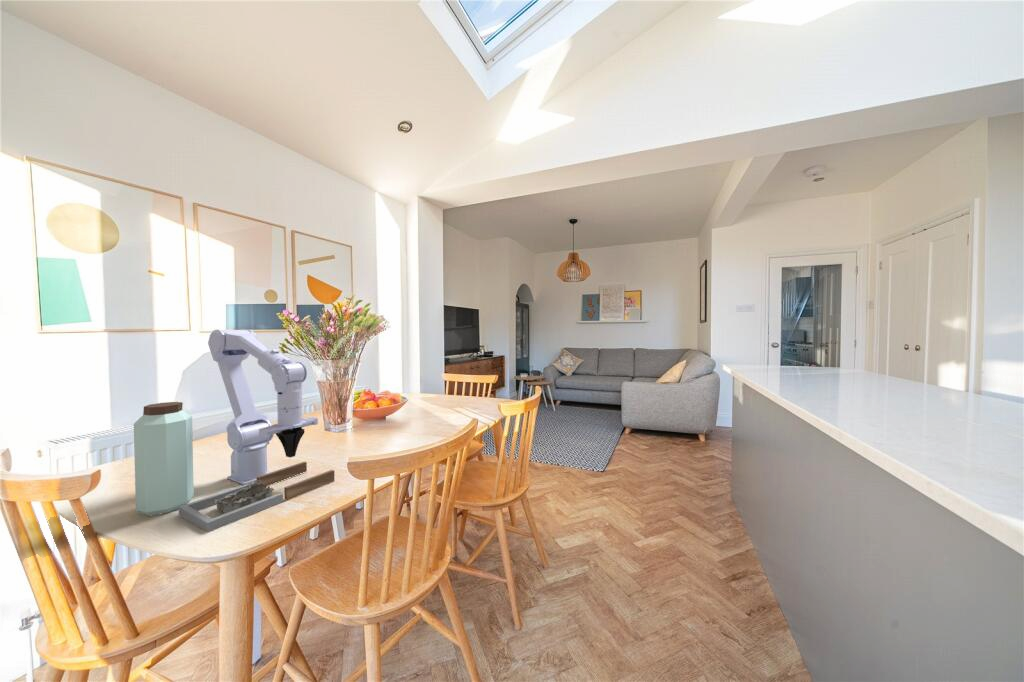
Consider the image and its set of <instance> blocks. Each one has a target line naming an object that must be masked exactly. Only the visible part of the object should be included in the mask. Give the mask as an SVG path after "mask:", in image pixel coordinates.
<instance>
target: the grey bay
mask: <svg viewBox="0 0 1024 682" xmlns="http://www.w3.org/2000/svg"><path fill="white" fill-rule="evenodd" d="M251 483H252V482H251ZM248 484H250V483H248ZM248 484H245V485H243V484H241V485H240V486H238V487H234V488H231V489H228V490H224V491H222V492H220V493H215V494H212V495H210V496H207V497H204V498H200V499H197V500H194V501H192V502H191V501H190V502H188V503H187V504H185V505H182V506H179V509H178V516H179V515H180V517H181V518H183V519H184V518H185V520H186V521H188V522H189V523H191V524H193V525H195V526H197V527H198V528H200V529H202V530H203V531H205V532H207V533H210V532H211V531H214V529H215V530H216V529H219V527H220V528H222V527H224V526H226V525H230V524H231V523H234V522H237V521H240V520H241V519H244V518H246V517H249V516H251V515H253V514H257V513H259V512H261V511H264V510H266V509H268V508H270V507H271V508H272V507H274V506H276V505H278V504H281V503H283V502H284V494H283V493H282V492H279V493H277V494H272V496H271V497H268V498H265V499H263V500H260V501H257V502H255V503H252V504H250V505H247V506H244V507H242V508H239V509H236V510H234V511H231V512H229V513H226V514H224V513H223V514H221V515H219V516H216V517H215V516H214V517H213V518H211V517H210V516H208V515H206V514H204V513H202V512H200V511H201V510H204V509H205V508H206V507H207V508H209V506H210V507H212V506H215V505H217V504H216V503H215V500H218V499H222V498H224V497H225V496H227V495H229V494H233V493H235V492H237V491H239V489H243V488H246V486H247V485H248ZM207 508H206V509H207Z"/></svg>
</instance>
